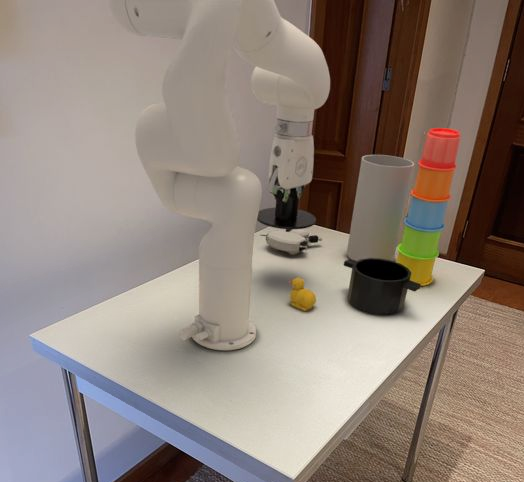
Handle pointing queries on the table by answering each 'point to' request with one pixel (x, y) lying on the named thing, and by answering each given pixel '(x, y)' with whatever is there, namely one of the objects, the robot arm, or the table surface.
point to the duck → (301, 295)
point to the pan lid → (292, 222)
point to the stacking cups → (429, 204)
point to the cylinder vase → (379, 206)
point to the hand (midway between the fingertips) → (286, 216)
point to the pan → (379, 285)
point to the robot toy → (290, 240)
